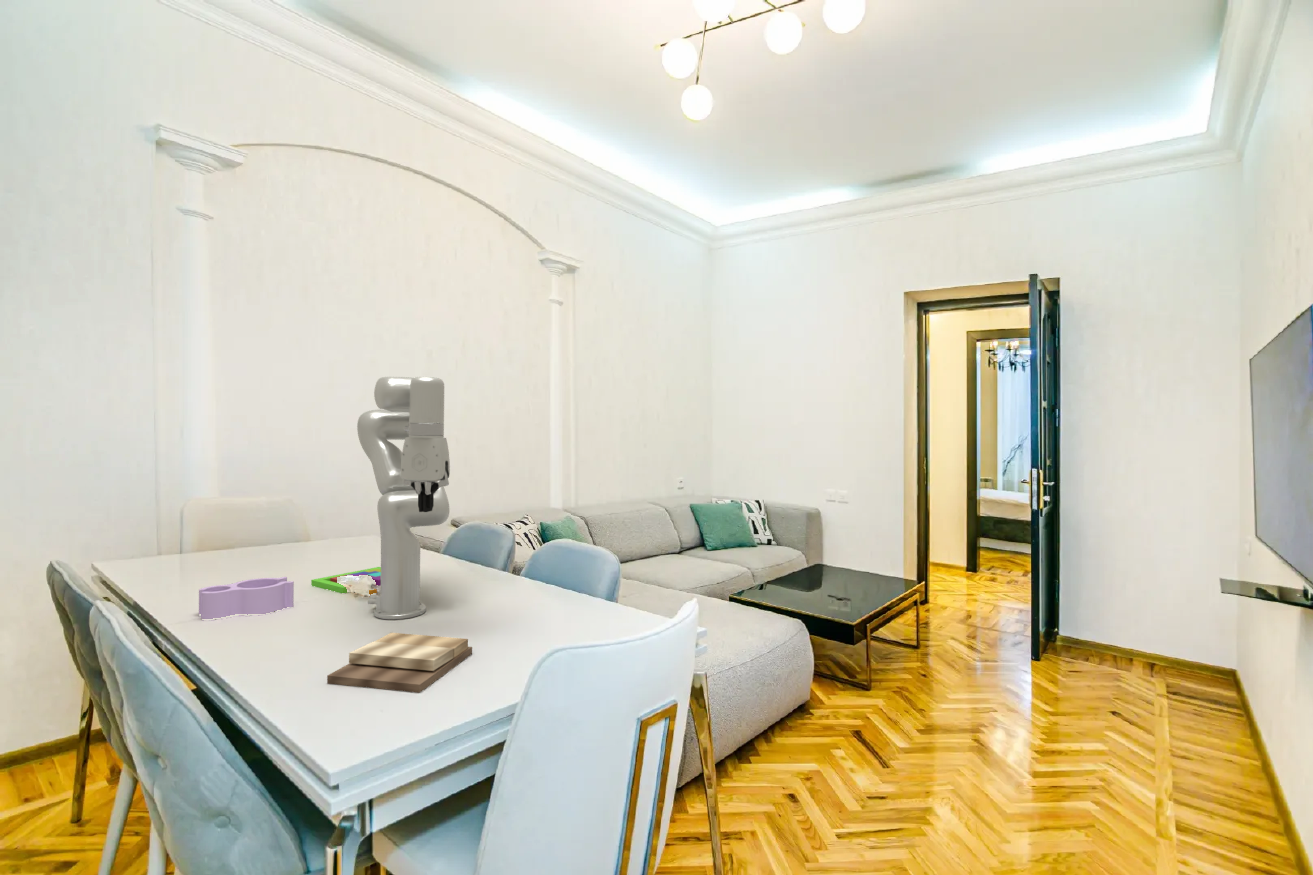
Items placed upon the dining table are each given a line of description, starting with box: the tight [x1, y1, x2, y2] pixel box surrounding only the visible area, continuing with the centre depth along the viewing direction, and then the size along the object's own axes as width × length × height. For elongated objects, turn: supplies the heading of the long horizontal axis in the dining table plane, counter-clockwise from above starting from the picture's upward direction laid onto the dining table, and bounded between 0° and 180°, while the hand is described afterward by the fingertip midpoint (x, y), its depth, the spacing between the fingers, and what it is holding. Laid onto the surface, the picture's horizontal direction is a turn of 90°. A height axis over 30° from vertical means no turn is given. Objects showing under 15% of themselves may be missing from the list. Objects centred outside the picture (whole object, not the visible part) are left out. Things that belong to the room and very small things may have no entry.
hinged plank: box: [348, 640, 454, 671], centre depth 132 cm, size 18×8×2 cm, turn 80°
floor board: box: [326, 632, 473, 694], centre depth 132 cm, size 19×21×4 cm
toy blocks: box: [310, 566, 381, 595], centre depth 199 cm, size 23×2×25 cm
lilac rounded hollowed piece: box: [198, 576, 295, 619], centre depth 169 cm, size 20×12×7 cm, turn 133°
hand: (425, 511), depth 151 cm, fingers closed
